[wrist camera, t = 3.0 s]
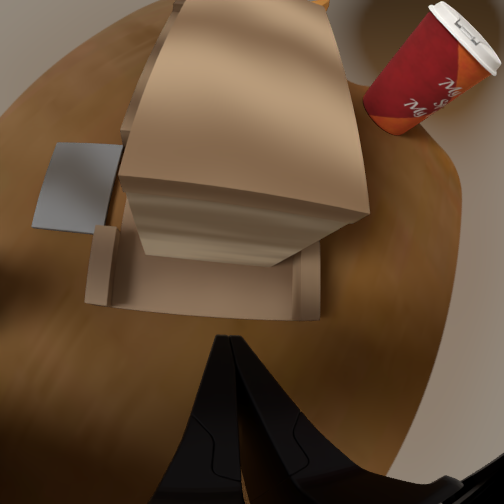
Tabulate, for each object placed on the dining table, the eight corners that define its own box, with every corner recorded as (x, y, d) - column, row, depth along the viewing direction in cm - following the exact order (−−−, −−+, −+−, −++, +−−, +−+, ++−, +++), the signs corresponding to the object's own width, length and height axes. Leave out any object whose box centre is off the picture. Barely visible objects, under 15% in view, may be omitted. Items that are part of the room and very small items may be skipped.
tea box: (271, 268, 17) (370, 214, 8) (144, 255, 15) (118, 175, 6) (273, 97, 20) (324, 6, 11) (180, 81, 18) (199, -24, 10)
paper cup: (396, 156, 24) (505, 74, 10) (340, 95, 23) (427, -8, 10) (420, 129, 26) (505, 63, 13) (374, 78, 26) (446, 0, 13)
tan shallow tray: (368, 320, 19) (396, 318, 16) (22, 292, 13) (-2, 286, 10) (336, 59, 25) (349, 41, 22) (125, 19, 19) (126, -3, 17)
